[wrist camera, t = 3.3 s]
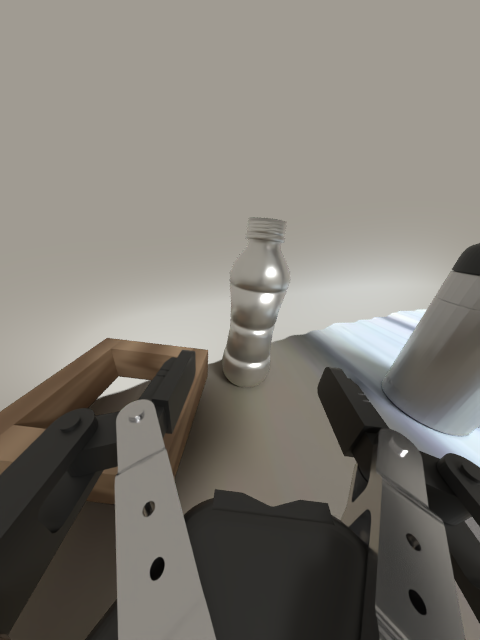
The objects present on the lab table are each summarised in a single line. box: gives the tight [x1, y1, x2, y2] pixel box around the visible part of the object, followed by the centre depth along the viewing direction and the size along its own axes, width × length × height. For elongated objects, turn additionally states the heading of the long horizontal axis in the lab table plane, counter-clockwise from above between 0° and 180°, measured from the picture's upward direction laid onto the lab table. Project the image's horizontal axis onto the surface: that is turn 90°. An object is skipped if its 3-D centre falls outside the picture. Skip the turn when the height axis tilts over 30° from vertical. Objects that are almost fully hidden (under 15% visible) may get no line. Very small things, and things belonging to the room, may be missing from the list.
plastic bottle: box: [222, 217, 290, 388], centre depth 21 cm, size 6×7×20 cm
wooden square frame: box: [0, 338, 208, 505], centre depth 18 cm, size 14×14×4 cm
